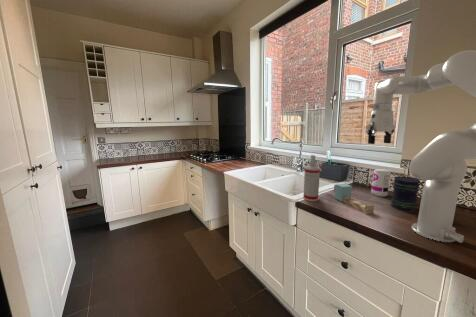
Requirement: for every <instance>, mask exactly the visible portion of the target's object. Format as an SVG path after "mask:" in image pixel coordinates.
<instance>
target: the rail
mask: <svg viewBox="0 0 476 317" xmlns="http://www.w3.org/2000/svg"><path fill="white" fill-rule="evenodd" d="M333 186H334V187H333V195H332V196H333V199H335V189H336V184H334V185H333ZM342 202H343V203H345V204H346V205H348V206H351V207H353V208H354V209H356V210H358V211H360V212H362V213H364V214H365V215H371V214H374V211H375V205H374V204H368V205H367V204H364V203H362V202H360V201H358V200H356V199H353V198H352V197H351V198H350V197H343V201H342Z"/></svg>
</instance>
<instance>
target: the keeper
mask: <svg viewBox="0 0 476 317" xmlns="http://www.w3.org/2000/svg"><path fill="white" fill-rule="evenodd" d="M335 185H336V189H335V198H334V199H335V200H337V201H339V202H343V197H350V198H352V191H353V190H352V188H353V186H352V185H350V184H347V183H336V184H335Z"/></svg>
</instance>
